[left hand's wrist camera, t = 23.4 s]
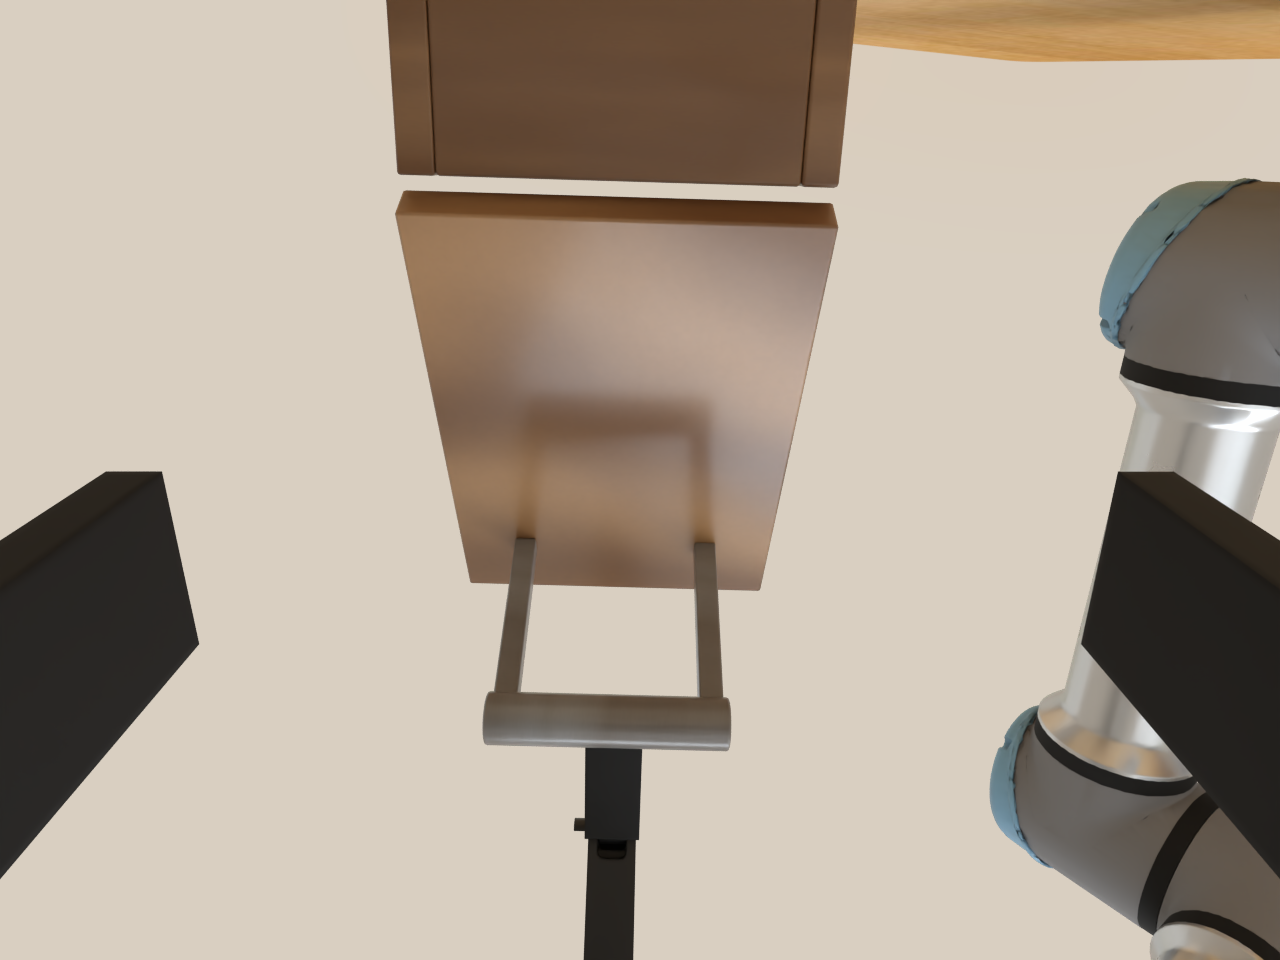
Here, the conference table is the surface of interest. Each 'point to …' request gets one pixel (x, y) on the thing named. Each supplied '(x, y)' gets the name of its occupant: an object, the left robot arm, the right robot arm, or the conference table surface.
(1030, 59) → the conference table surface
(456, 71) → the chest
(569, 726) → the lid
